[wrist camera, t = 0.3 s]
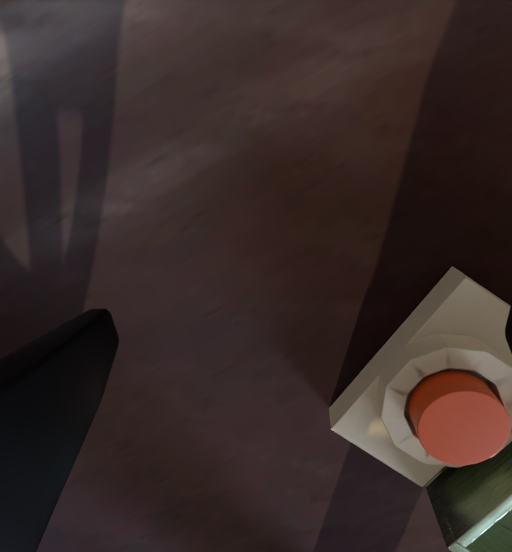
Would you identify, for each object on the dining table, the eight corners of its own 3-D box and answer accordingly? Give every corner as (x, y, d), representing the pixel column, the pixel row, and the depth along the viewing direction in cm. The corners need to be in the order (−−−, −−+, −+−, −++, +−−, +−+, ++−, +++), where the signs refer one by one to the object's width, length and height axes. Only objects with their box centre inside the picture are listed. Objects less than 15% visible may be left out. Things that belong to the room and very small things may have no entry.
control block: (415, 463, 28) (432, 513, 24) (326, 406, 27) (330, 448, 23) (549, 332, 24) (595, 366, 20) (449, 264, 23) (477, 286, 20)
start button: (454, 453, 23) (467, 479, 21) (391, 412, 23) (399, 435, 21) (512, 399, 22) (531, 422, 20) (445, 355, 21) (458, 374, 19)
